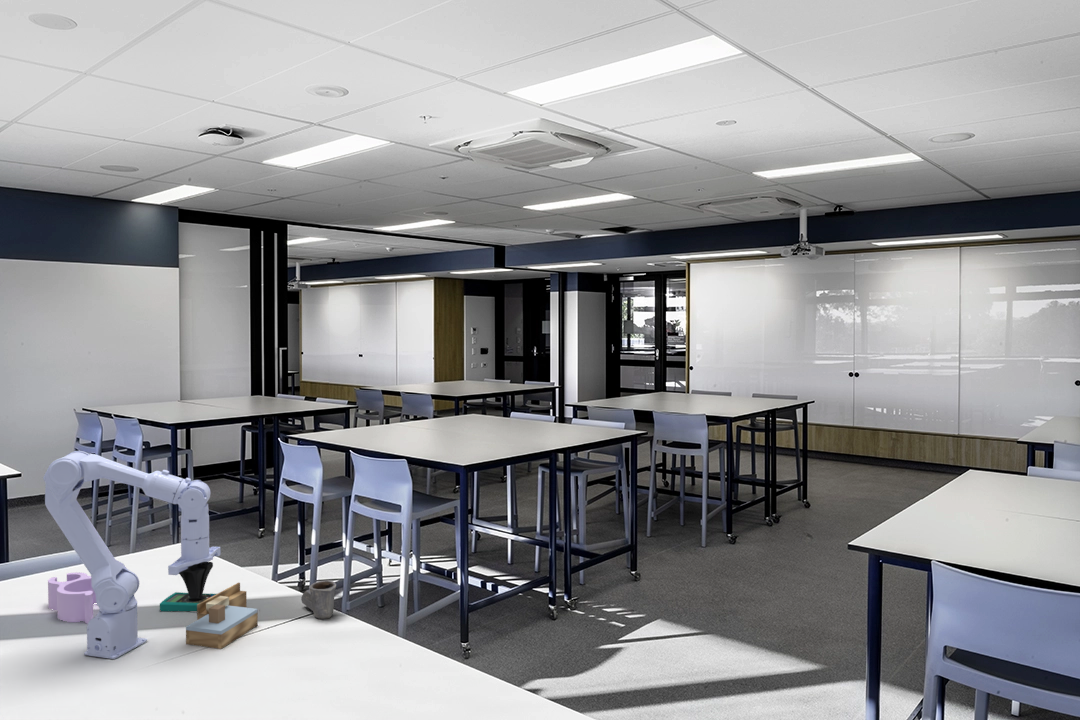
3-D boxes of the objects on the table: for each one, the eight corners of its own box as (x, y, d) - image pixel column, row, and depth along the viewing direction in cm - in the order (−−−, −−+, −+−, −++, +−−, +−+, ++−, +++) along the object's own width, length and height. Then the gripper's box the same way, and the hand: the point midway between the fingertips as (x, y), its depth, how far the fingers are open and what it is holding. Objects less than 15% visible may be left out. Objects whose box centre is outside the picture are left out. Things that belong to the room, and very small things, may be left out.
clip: (33, 610, 181) (33, 582, 181) (86, 594, 192) (85, 568, 192) (77, 627, 171) (76, 598, 171) (130, 610, 182) (129, 582, 182)
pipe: (316, 603, 188) (316, 572, 187) (342, 618, 179) (342, 585, 178) (294, 609, 183) (293, 578, 183) (319, 625, 174) (319, 592, 174)
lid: (221, 639, 161) (221, 616, 160) (186, 634, 163) (185, 612, 163) (257, 616, 173) (257, 595, 173) (224, 612, 175) (224, 591, 175)
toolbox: (221, 648, 161) (221, 620, 161) (177, 643, 163) (176, 615, 163) (278, 612, 182) (278, 586, 181) (238, 607, 184) (238, 582, 184)
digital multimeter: (217, 615, 181) (217, 603, 180) (158, 613, 181) (158, 601, 181) (231, 603, 188) (231, 592, 188) (174, 602, 188) (174, 590, 188)
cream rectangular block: (215, 612, 170) (215, 604, 170) (206, 611, 170) (206, 603, 170) (229, 604, 174) (229, 596, 174) (220, 603, 175) (220, 595, 175)
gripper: (187, 547, 156) (188, 610, 157) (231, 529, 170) (232, 587, 171) (159, 544, 158) (160, 607, 158) (205, 526, 172) (205, 584, 172)
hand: (195, 596), depth 165 cm, fingers closed
